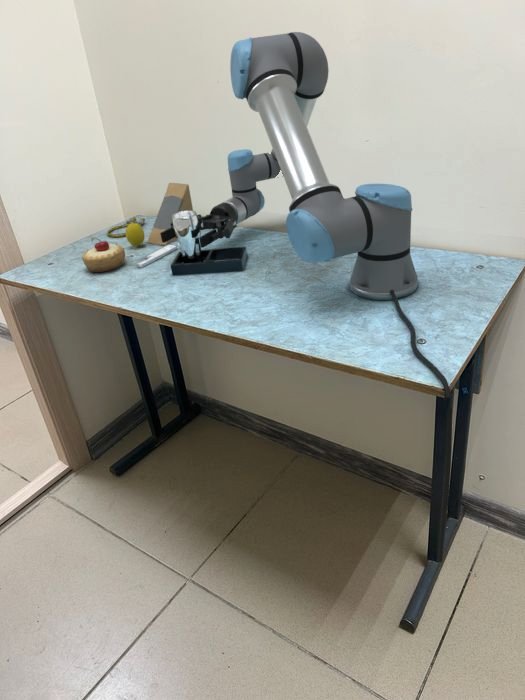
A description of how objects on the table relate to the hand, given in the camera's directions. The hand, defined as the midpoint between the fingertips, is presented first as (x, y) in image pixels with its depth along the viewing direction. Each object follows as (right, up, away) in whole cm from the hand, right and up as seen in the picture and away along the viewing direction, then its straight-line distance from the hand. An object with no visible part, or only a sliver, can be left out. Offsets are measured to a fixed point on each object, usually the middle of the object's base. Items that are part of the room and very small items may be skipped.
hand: (181, 240), depth 144 cm
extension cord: (-25, +12, +43) cm, 51 cm away
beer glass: (+3, -6, +7) cm, 10 cm away
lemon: (-18, +3, +27) cm, 32 cm away
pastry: (-24, -5, +15) cm, 29 cm away
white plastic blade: (-11, -2, +17) cm, 20 cm away
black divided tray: (+7, -6, +6) cm, 11 cm away
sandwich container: (-8, +8, +32) cm, 34 cm away
